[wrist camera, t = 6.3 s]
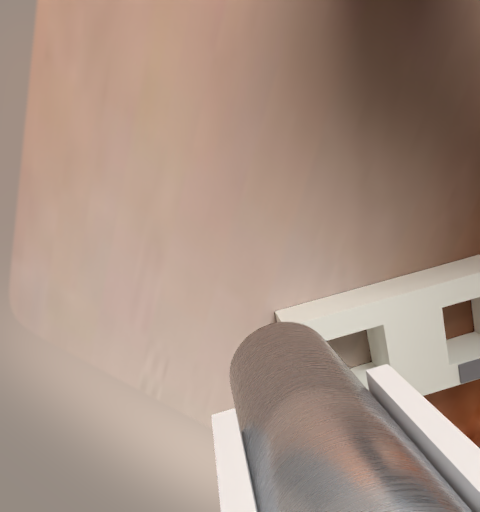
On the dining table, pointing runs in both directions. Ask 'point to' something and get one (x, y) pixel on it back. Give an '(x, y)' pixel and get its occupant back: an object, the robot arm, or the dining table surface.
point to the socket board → (406, 324)
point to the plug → (324, 433)
